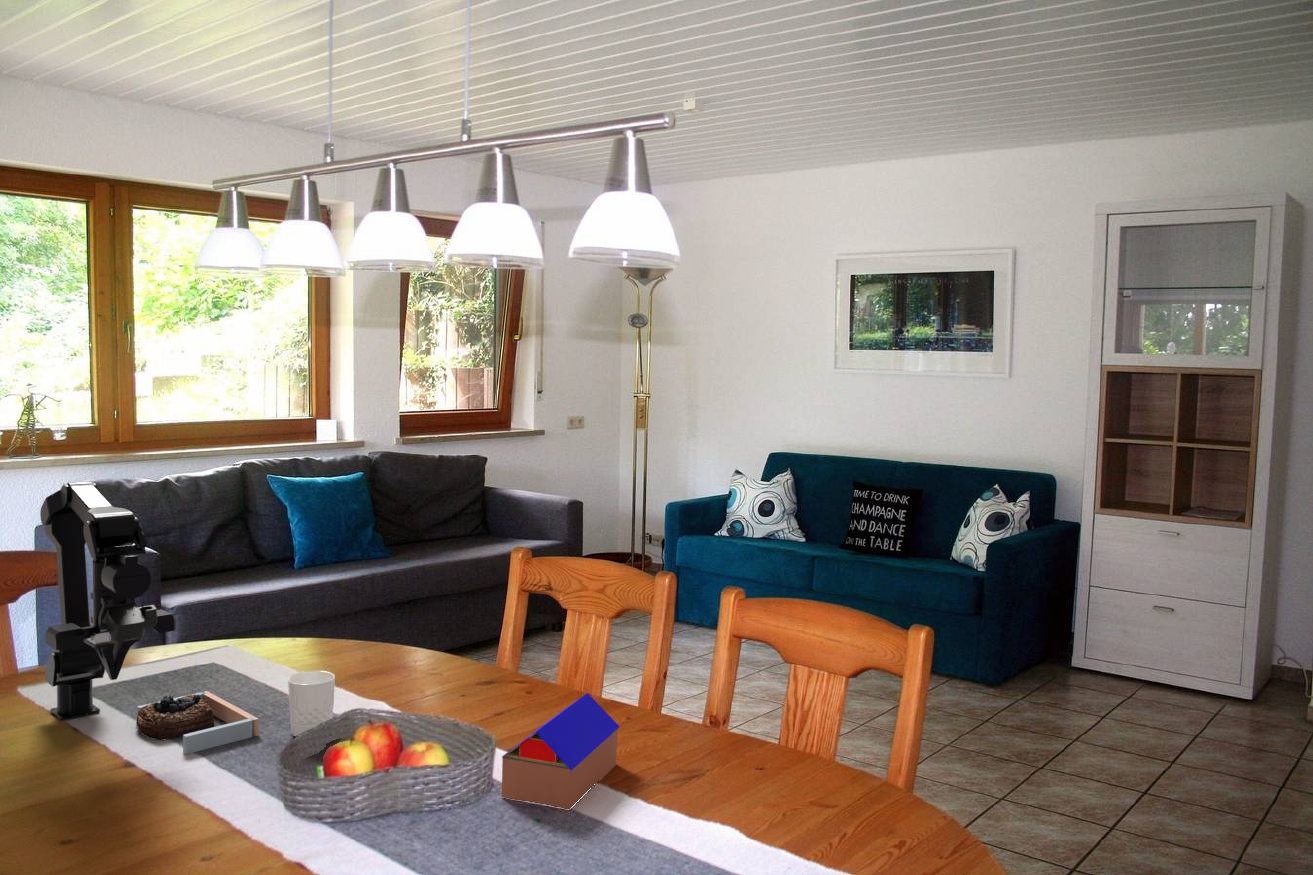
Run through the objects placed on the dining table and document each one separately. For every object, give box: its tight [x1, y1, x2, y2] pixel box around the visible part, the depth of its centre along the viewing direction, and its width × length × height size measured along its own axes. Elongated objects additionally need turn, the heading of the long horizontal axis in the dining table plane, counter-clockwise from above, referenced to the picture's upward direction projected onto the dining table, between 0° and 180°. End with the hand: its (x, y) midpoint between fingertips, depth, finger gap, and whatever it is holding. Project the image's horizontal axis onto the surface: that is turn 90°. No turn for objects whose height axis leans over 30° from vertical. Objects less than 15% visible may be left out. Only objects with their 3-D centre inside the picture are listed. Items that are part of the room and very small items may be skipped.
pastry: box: [136, 693, 216, 741], centre depth 184 cm, size 11×12×6 cm
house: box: [501, 692, 621, 809], centre depth 165 cm, size 12×20×12 cm, turn 161°
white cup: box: [287, 670, 336, 737], centre depth 183 cm, size 8×8×10 cm
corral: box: [136, 690, 260, 755], centre depth 183 cm, size 20×13×3 cm, turn 48°
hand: (113, 679), depth 173 cm, fingers closed
